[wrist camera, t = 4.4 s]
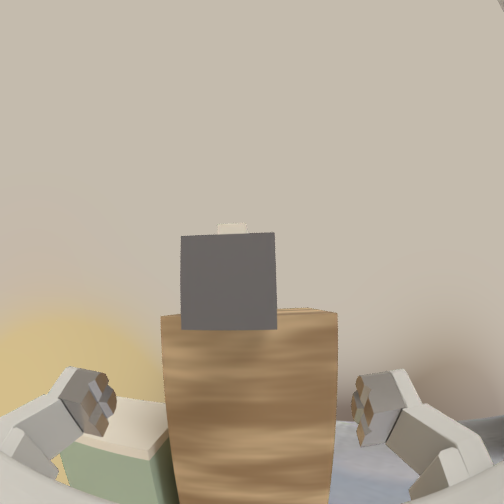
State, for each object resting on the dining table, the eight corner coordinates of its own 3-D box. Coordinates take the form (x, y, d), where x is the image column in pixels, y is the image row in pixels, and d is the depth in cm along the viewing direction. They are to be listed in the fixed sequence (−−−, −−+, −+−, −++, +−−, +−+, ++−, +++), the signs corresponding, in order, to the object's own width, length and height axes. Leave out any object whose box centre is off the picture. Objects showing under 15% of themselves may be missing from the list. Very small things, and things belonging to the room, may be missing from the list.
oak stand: (217, 486, 31) (207, 310, 35) (304, 486, 30) (307, 307, 35) (193, 561, 15) (160, 316, 20) (317, 563, 15) (337, 313, 19)
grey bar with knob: (239, 310, 32) (239, 271, 33) (272, 309, 32) (270, 270, 33) (181, 329, 10) (181, 215, 11) (277, 329, 10) (273, 211, 11)
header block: (128, 487, 28) (111, 395, 30) (197, 500, 27) (186, 405, 30) (89, 532, 16) (52, 425, 18) (173, 557, 16) (147, 450, 18)
